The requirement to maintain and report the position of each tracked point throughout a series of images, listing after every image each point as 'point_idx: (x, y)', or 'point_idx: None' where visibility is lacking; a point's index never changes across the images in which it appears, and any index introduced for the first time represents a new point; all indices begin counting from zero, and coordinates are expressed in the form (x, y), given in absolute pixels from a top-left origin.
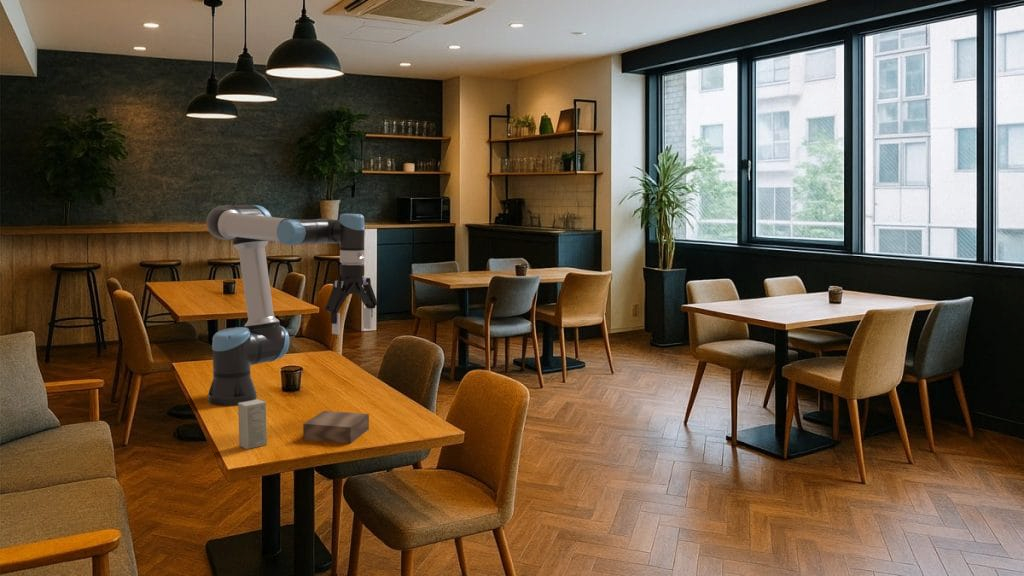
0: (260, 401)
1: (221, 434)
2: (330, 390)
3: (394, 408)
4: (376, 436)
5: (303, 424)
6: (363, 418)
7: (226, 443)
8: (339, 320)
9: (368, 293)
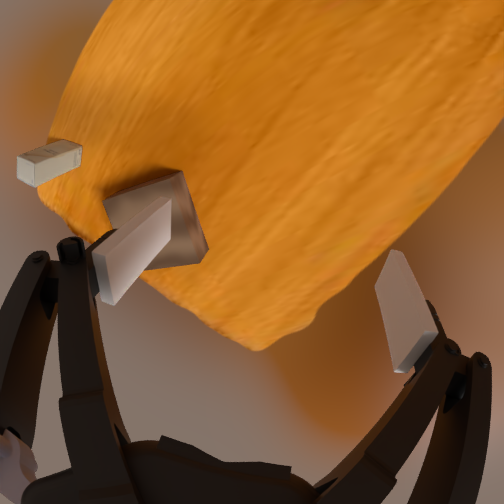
0: (31, 178)
1: (78, 75)
2: (424, 28)
3: (352, 226)
4: (187, 274)
5: (102, 201)
6: (177, 265)
7: (61, 117)
8: (132, 277)
9: (442, 453)
